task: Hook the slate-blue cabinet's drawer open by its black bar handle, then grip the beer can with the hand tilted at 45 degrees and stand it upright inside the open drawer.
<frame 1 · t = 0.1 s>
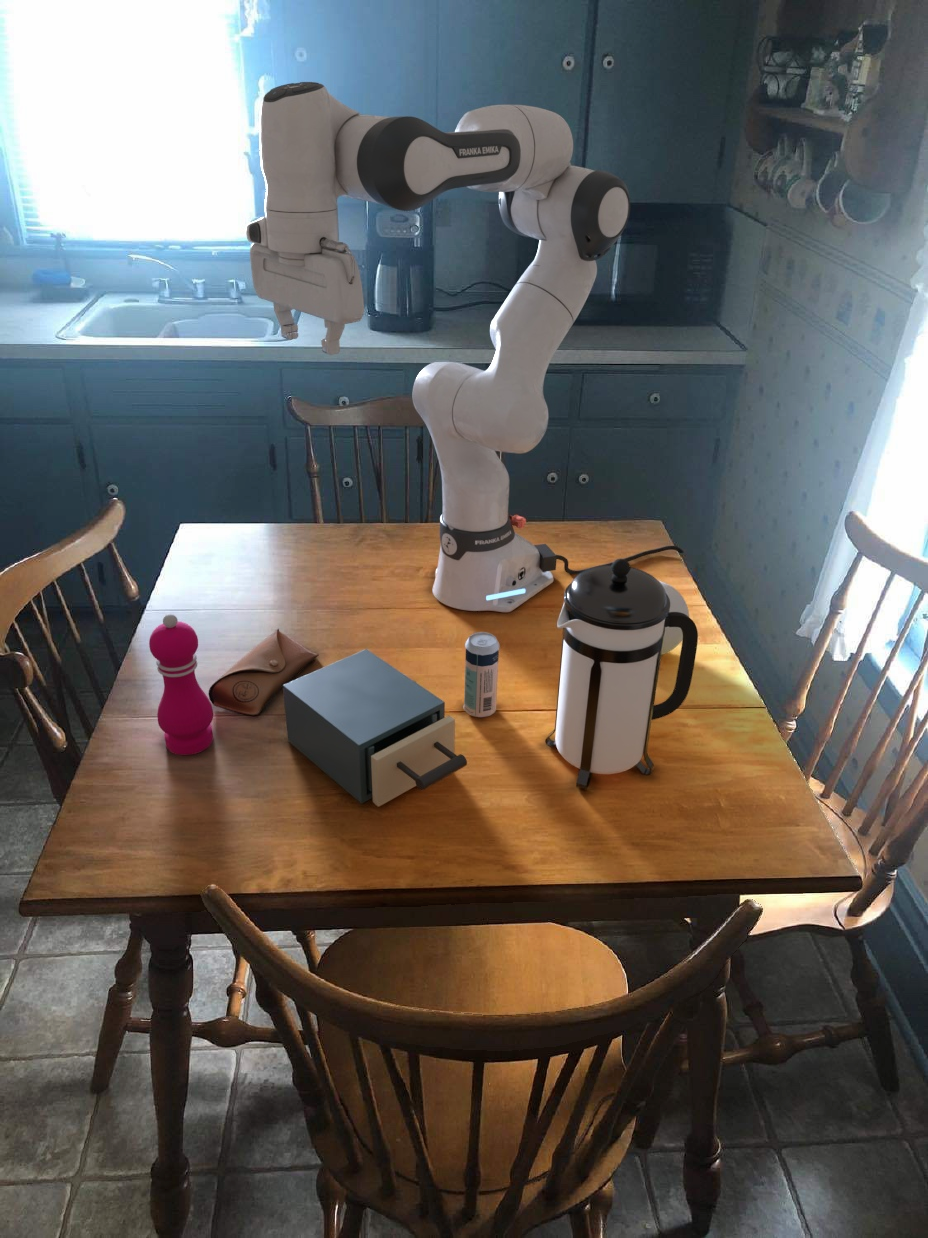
hand: (310, 345, 124), 48 cm above the table, tool pointing down, fingers open, 8 cm apart
beer can: (479, 711, 137), on the table
coffee press: (605, 755, 128), on the table
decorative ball: (645, 651, 151), on the table
pepper mill: (190, 742, 129), on the table
sunglasses case: (267, 680, 142), on the table
drawer: (392, 743, 122), point 5 cm above the table, slide at 1.5 cm
cabinet: (365, 749, 128), on the table
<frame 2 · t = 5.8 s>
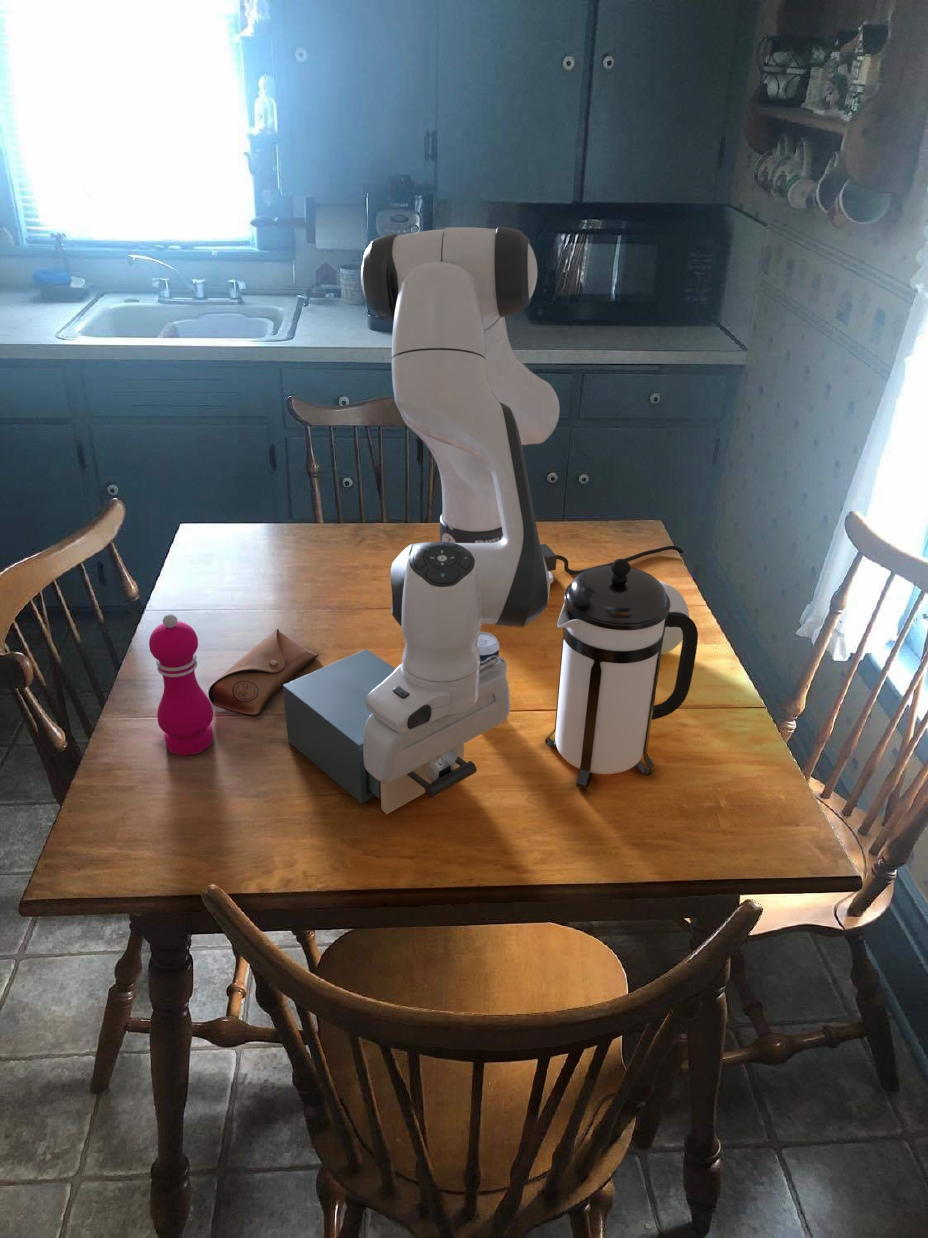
hand: (440, 776, 115), 6 cm above the table, tool pointing down, fingers closed
drawer: (400, 749, 121), point 5 cm above the table, slide at 3.3 cm, touching gripper
everything else where it was.
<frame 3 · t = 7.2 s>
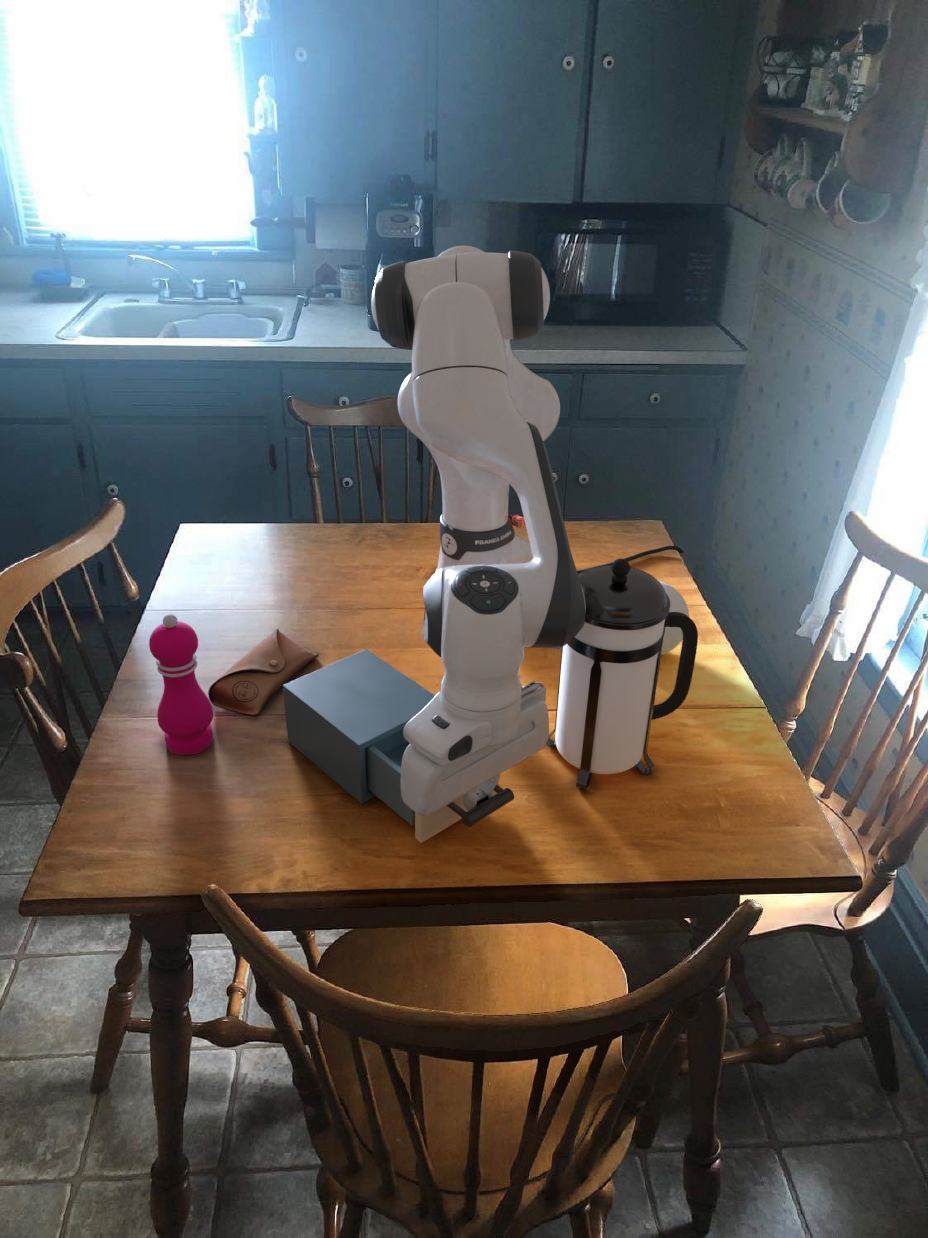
hand: (477, 805, 111), 5 cm above the table, tool pointing down, fingers closed, pressing on drawer
drawer: (433, 775, 117), point 5 cm above the table, slide at 9.8 cm, touching gripper
everything else where it was.
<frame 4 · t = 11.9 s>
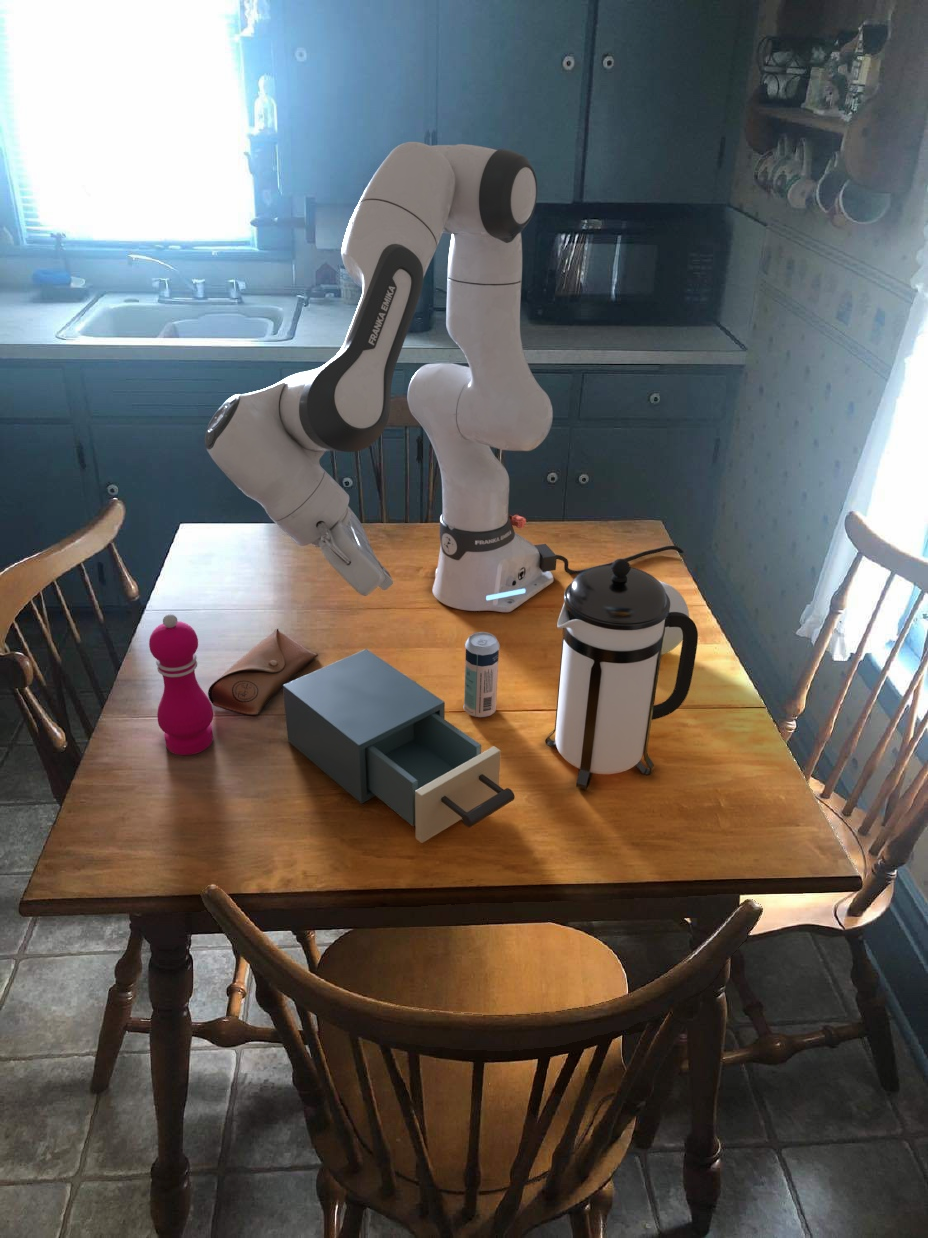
hand: (387, 582, 123), 22 cm above the table, tool tilted 40°, fingers closed
drawer: (434, 775, 117), point 5 cm above the table, slide at 9.9 cm
everything else where it was.
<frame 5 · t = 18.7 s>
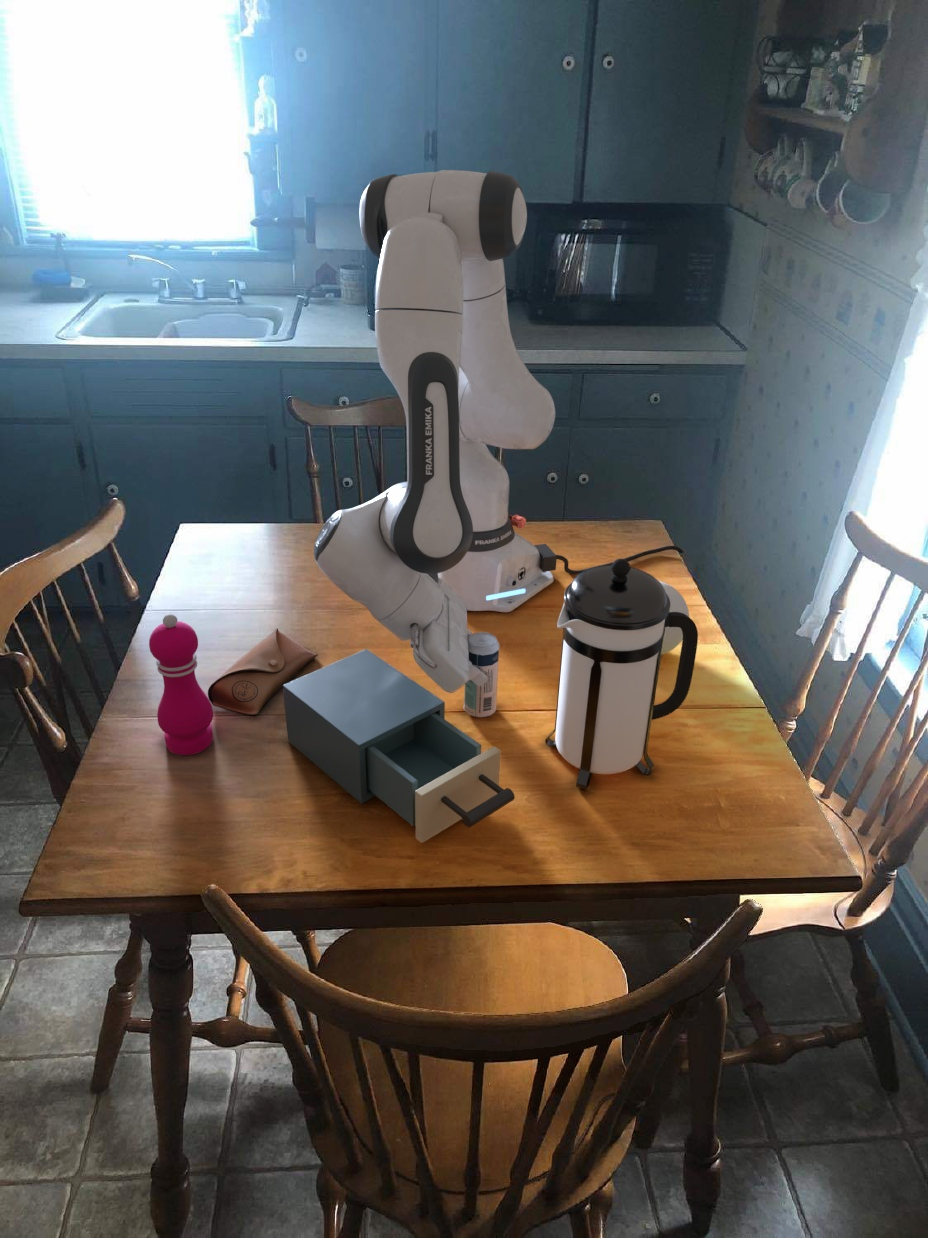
hand: (483, 668, 133), 7 cm above the table, tool tilted 45°, fingers closed on beer can, 5 cm apart
beer can: (480, 711, 137), on the table, touching gripper
everything else where it was.
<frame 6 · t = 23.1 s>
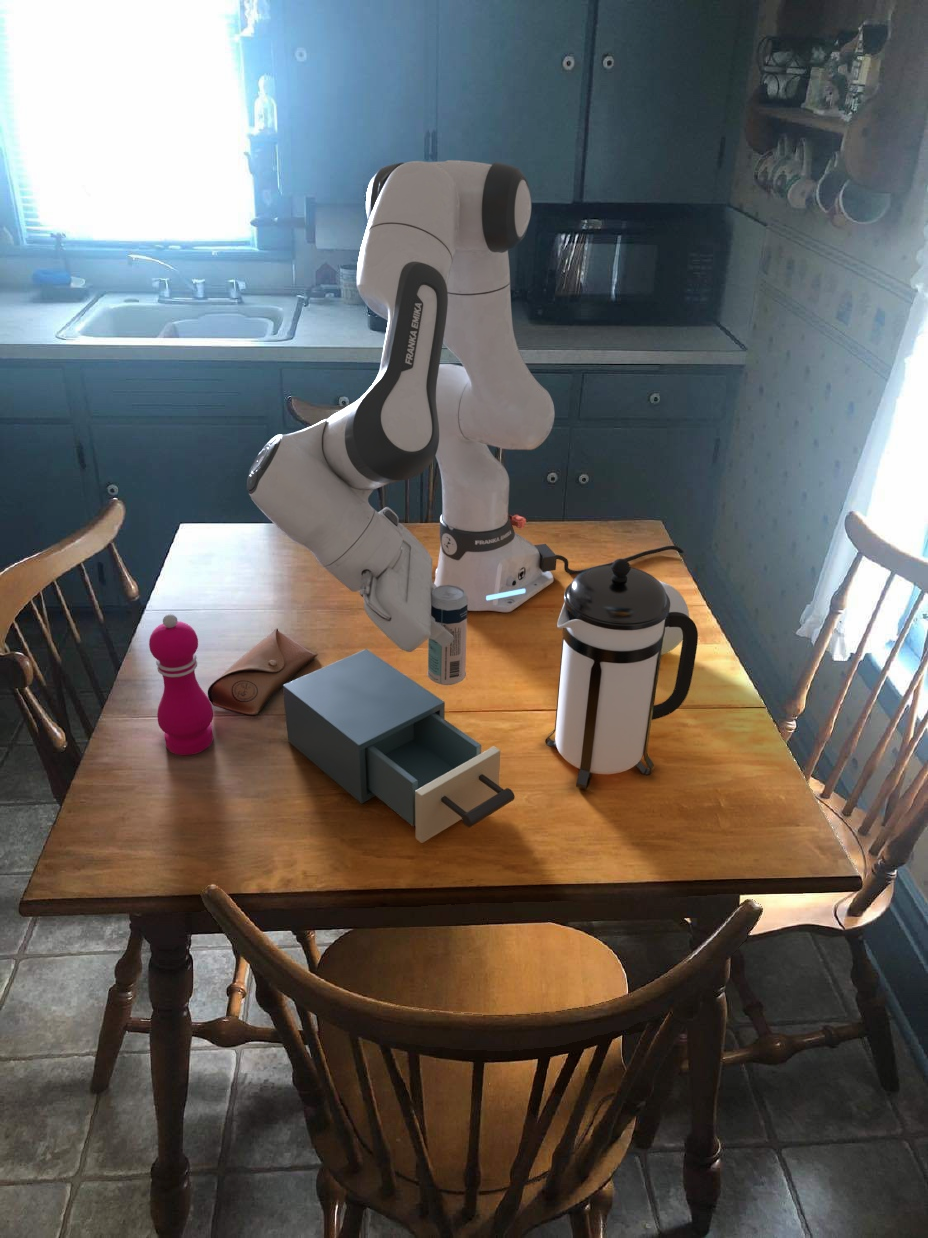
hand: (449, 627, 114), 22 cm above the table, tool tilted 45°, fingers closed on beer can, 5 cm apart
beer can: (446, 678, 118), point 14 cm above the table, touching gripper
everything else where it was.
when the fingers open (9 cm above the table, at t = 27.7 s): beer can stays where it is, resting on drawer.
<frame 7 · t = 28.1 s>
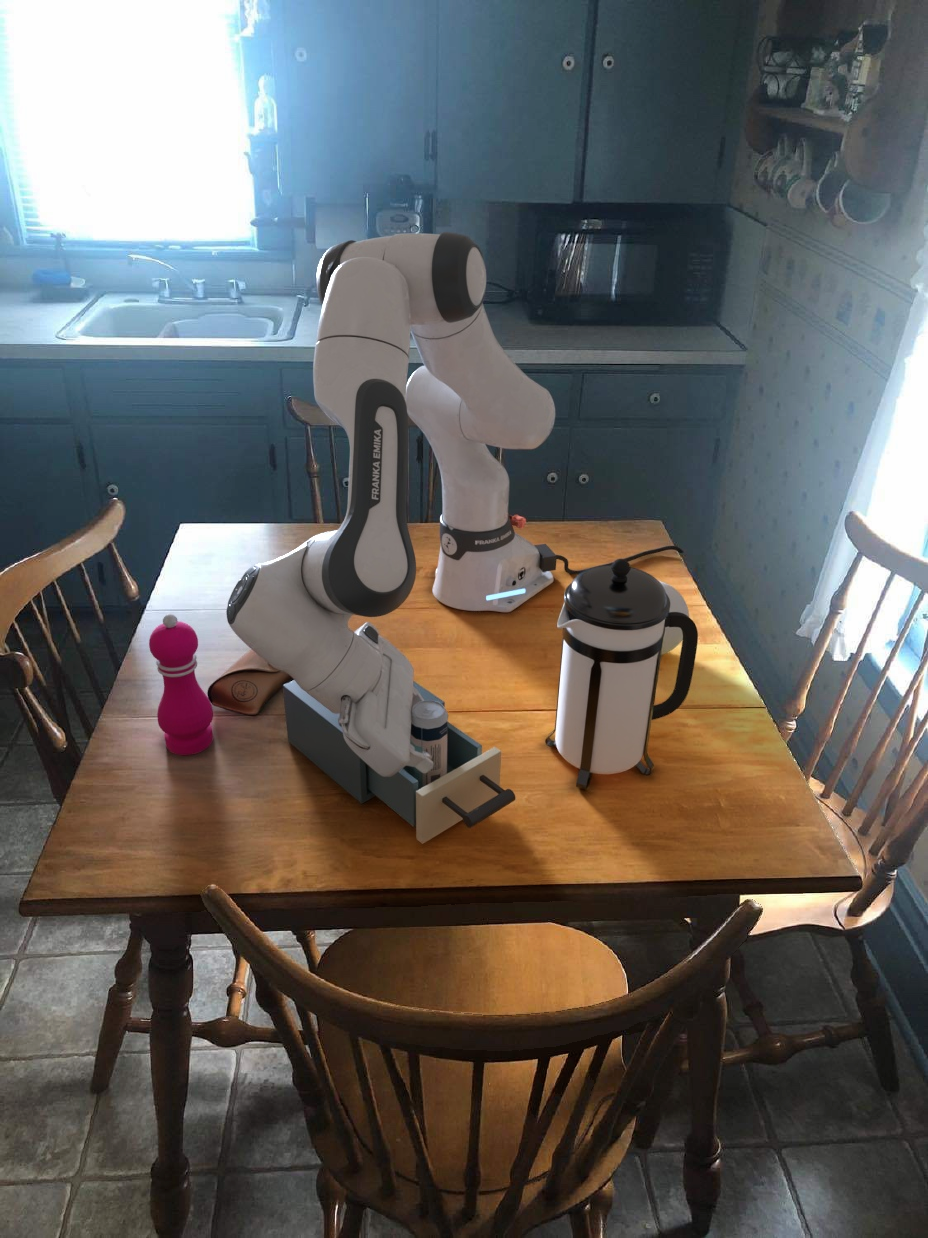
hand: (430, 742, 115), 9 cm above the table, tool tilted 45°, fingers open, 8 cm apart
beer can: (428, 788, 119), point 2 cm above the table, touching drawer
drawer: (435, 776, 117), point 5 cm above the table, slide at 10.0 cm, touching beer can
everything else where it was.
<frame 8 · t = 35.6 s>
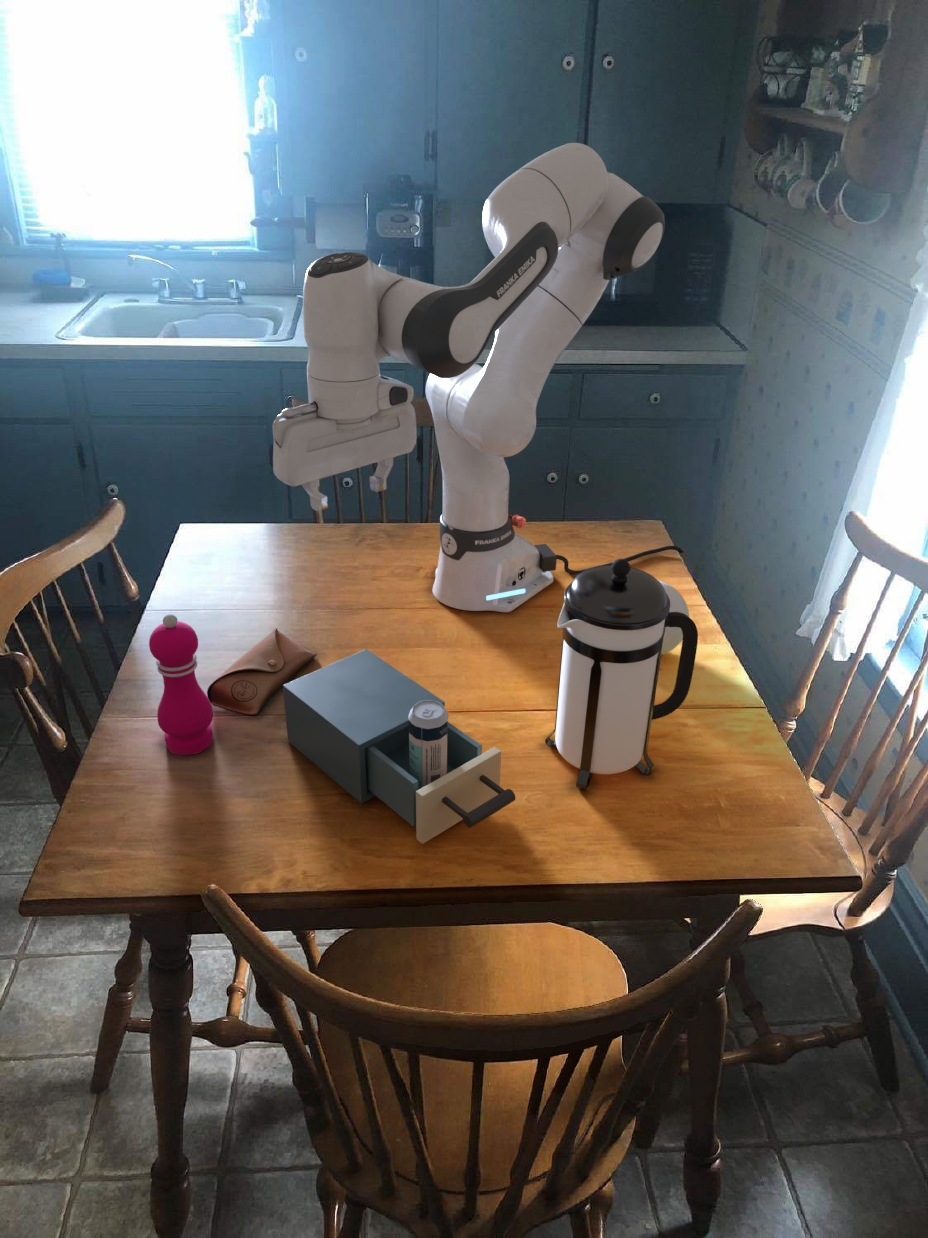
hand: (349, 499, 123), 31 cm above the table, tool pointing down, fingers open, 8 cm apart
nothing on the table moved.
at the end: drawer slide at 10.0 cm; beer can inside the target area in the drawer (0.7 cm from its centre), point 1.9 cm above the cabinet's base; beer can tilted 0° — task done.
